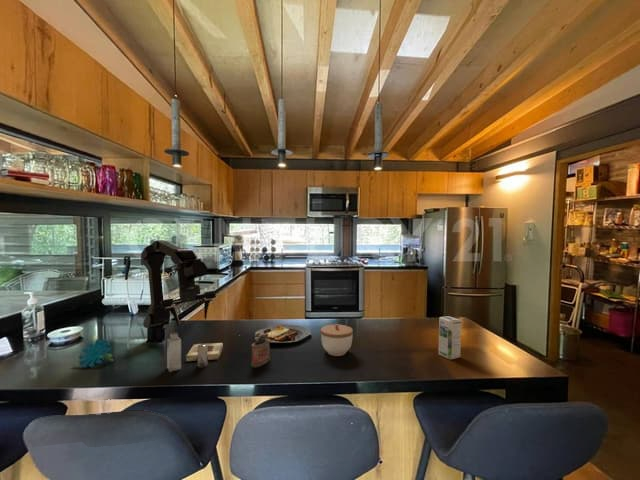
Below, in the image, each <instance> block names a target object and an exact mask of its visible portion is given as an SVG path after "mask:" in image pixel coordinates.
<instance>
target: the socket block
mask: <svg viewBox="0 0 640 480" xmlns="http://www.w3.org/2000/svg"><path fill="white" fill-rule="evenodd" d="M200 344H201V343H196V344H192V347H191V348H190V350H189V351H188V353H187V354H186V356H185V357H186V362H192V361H193V362H194V361H197V362H198V345H200ZM206 344H207V345H208V361H209V360H219V358H220V356H221V354H222V351H223V349H224V343H223V342H216V343H215V342H214V343H211V342H210V343H206Z"/></svg>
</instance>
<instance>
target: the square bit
mask: <svg viewBox="0 0 640 480" xmlns="http://www.w3.org/2000/svg"><path fill="white" fill-rule="evenodd" d="M166 340H167V341H166V355H167V356H166V369H167V370H168V372H169V373H172V372H174V371H178V370H181V369H182V339H181V338H180V336H179V332H176V331H175V332H171V333H170V336H169V338H166Z"/></svg>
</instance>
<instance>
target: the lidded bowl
mask: <svg viewBox="0 0 640 480" xmlns="http://www.w3.org/2000/svg"><path fill="white" fill-rule="evenodd" d="M353 334H354V330H353V328H352V327H350V326H348V325H345V324H344V325H343V324H338V323H335V324H327V325H324V326H322V327H321V328H320V340H321V345H322V346H323V349H324V350H325V352H326V353H327V354H328V355H330V356H333V357H341V356H344V355H346V353H347V352H348V351H349V350H350V349H351V346H352V343H353Z"/></svg>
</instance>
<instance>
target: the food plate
mask: <svg viewBox="0 0 640 480" xmlns="http://www.w3.org/2000/svg"><path fill="white" fill-rule="evenodd" d="M287 332H288V333H287ZM265 333H267V334H268V337H266V338H265V339H270V342H269V344H270V343H271V344H292V343H296V342H301V341H302V340H304V339H305V338H307V337H309V336H312V332H311V331H310V329H308V327H304V326H301V325H295V324H275V325H270V326H269V325H268V326H267V325H266V326H264V327H262V328H260V329H259V330H257V331H255V332H254V338H256V337H257V336H258V335H262V334H265ZM296 335H300V336H299V337H298V338H297V336H296Z"/></svg>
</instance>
